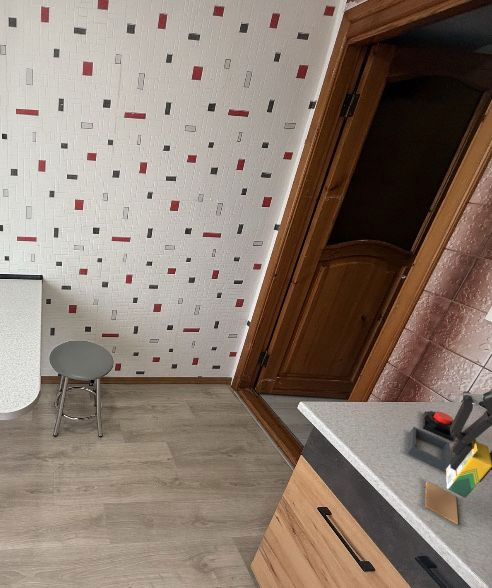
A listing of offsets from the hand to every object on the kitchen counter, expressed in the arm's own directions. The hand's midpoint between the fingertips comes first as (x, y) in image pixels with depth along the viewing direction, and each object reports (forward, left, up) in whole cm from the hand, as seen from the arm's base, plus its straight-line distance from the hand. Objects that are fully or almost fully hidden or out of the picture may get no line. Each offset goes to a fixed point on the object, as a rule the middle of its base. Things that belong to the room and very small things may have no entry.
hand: (464, 471), depth 70 cm
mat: (0, 0, -10) cm, 10 cm away
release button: (0, -34, -8) cm, 34 cm away
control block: (0, -34, -10) cm, 35 cm away
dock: (+2, -18, -10) cm, 21 cm away
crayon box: (0, 0, -4) cm, 4 cm away
